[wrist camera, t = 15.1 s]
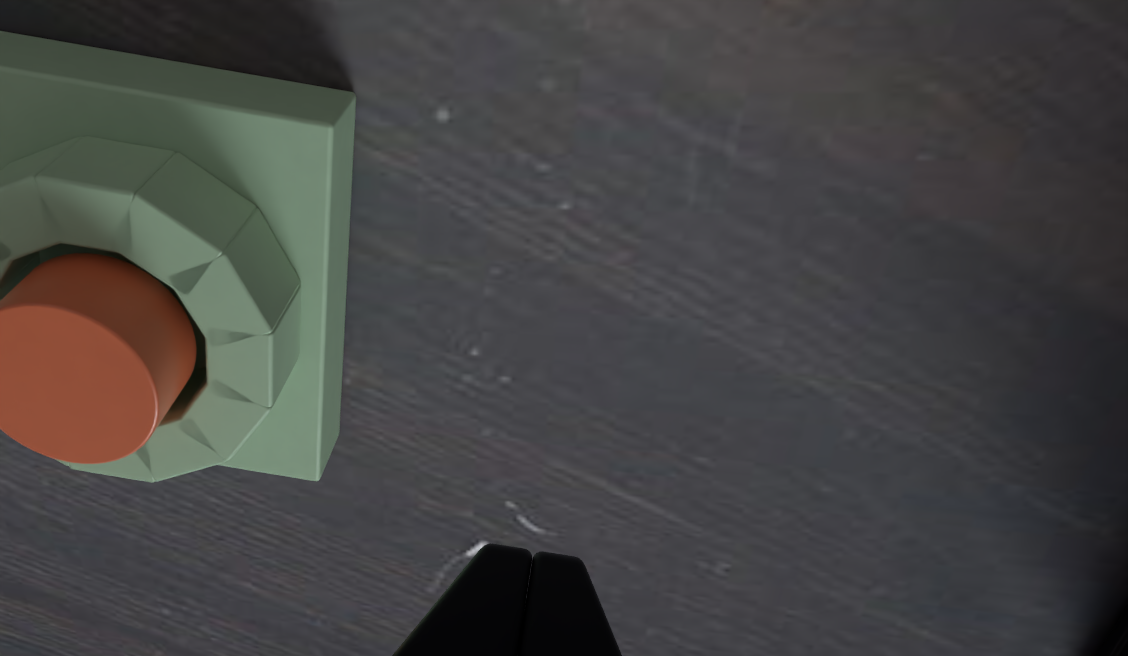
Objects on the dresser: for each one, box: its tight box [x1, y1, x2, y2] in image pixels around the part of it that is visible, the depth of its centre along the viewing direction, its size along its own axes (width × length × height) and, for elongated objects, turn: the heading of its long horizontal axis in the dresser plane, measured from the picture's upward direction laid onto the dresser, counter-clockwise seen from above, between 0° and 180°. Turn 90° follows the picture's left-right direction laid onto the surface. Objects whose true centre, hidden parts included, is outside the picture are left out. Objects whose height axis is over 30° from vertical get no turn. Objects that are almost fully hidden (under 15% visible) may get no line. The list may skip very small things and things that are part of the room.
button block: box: [0, 31, 356, 482], centre depth 20 cm, size 7×8×4 cm
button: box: [0, 253, 196, 464], centre depth 18 cm, size 3×3×2 cm
